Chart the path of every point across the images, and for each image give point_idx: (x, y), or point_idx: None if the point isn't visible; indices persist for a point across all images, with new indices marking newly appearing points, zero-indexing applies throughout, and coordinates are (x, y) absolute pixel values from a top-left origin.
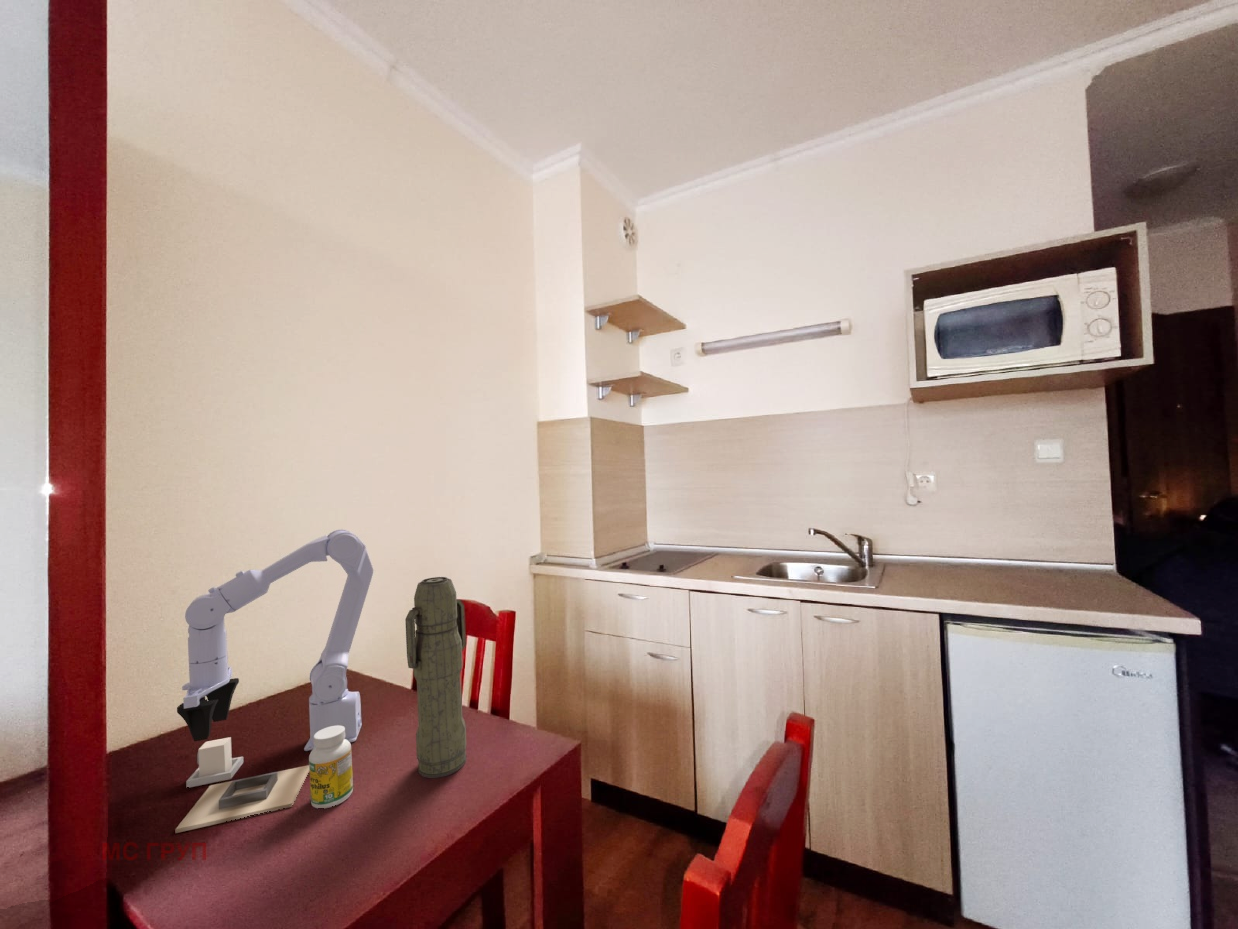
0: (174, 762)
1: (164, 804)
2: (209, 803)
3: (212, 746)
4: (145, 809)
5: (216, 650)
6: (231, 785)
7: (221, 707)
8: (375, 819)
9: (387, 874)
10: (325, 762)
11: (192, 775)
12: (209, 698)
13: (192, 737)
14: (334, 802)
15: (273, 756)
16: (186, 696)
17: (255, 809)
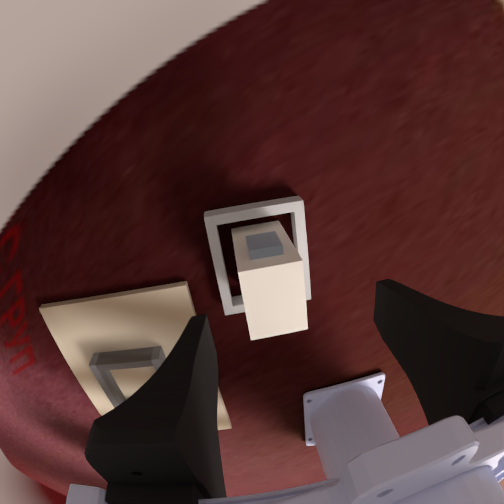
0: (375, 81)
1: (134, 202)
2: (111, 326)
3: (250, 309)
4: (120, 165)
5: None
6: (139, 364)
7: (404, 341)
8: (105, 483)
9: (49, 483)
10: None
11: (235, 215)
12: (445, 333)
13: (189, 322)
14: None
15: (311, 343)
16: None
17: (97, 403)
